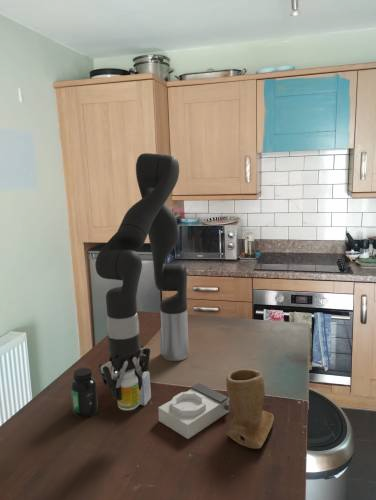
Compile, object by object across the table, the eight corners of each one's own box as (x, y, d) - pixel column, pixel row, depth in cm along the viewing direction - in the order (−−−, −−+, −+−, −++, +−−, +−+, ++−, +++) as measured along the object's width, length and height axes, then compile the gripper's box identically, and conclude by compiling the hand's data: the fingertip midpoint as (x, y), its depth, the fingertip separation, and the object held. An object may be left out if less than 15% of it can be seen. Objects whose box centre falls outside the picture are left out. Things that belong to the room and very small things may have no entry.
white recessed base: (191, 441, 105) (190, 421, 104) (159, 420, 113) (158, 402, 112) (232, 413, 116) (232, 395, 115) (200, 396, 124) (199, 379, 123)
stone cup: (235, 408, 118) (235, 359, 115) (278, 419, 113) (279, 367, 109) (214, 441, 105) (213, 386, 102) (260, 455, 100) (261, 397, 96)
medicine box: (151, 398, 124) (150, 371, 122) (145, 406, 120) (143, 378, 118) (127, 393, 127) (125, 367, 125) (120, 402, 123) (118, 374, 121)
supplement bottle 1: (76, 421, 114) (72, 380, 112) (70, 408, 120) (67, 369, 118) (101, 413, 117) (98, 374, 115) (94, 401, 123) (91, 363, 121)
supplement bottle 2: (135, 412, 103) (133, 376, 101) (114, 409, 104) (111, 374, 102) (142, 399, 108) (140, 364, 106) (122, 397, 109) (119, 363, 107)
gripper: (137, 318, 109) (141, 377, 113) (88, 336, 99) (94, 400, 103) (156, 326, 104) (159, 388, 108) (107, 346, 94) (112, 413, 98)
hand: (127, 393), depth 105 cm, fingers closed on supplement bottle 2, 5 cm apart
